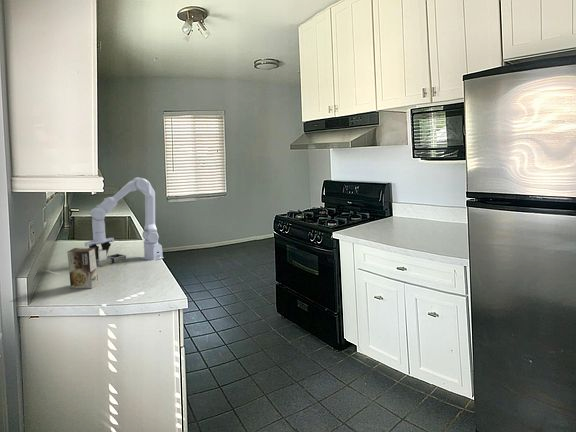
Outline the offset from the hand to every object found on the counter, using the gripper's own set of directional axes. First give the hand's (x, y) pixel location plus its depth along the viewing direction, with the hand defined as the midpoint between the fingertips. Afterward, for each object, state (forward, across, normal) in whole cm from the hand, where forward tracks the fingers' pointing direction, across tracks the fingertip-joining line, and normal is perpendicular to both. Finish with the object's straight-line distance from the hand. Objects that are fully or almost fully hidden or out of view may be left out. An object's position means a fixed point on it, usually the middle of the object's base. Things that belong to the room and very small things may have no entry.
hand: (100, 258), depth 196 cm
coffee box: (+4, +23, +24) cm, 33 cm away
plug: (+3, 0, 0) cm, 3 cm away
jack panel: (+4, -4, 0) cm, 6 cm away
